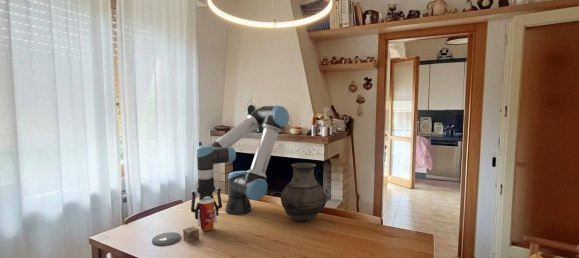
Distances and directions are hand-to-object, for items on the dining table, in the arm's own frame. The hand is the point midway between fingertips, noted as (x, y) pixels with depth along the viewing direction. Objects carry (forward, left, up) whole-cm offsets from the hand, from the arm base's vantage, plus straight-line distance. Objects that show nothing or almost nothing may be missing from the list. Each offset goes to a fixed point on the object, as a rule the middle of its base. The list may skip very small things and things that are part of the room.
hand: (207, 223), depth 142 cm
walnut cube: (+8, +8, -3) cm, 12 cm away
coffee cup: (0, 0, -2) cm, 2 cm away
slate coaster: (+18, +3, -3) cm, 19 cm away
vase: (-50, +7, -3) cm, 50 cm away
